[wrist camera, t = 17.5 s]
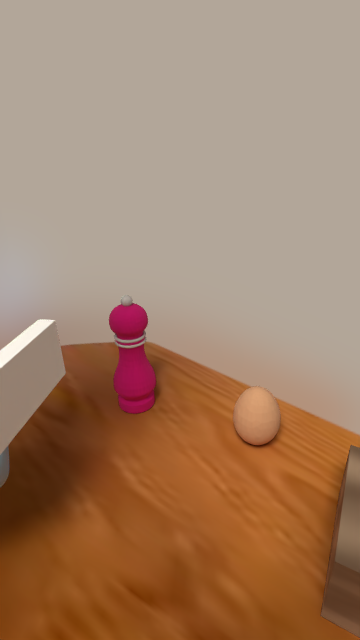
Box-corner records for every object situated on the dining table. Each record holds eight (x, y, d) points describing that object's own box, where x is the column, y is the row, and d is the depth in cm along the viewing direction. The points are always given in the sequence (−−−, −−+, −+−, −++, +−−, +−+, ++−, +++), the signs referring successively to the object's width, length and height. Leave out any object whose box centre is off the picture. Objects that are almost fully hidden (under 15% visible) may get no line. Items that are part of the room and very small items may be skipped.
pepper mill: (162, 392, 61) (155, 288, 53) (149, 418, 55) (140, 305, 46) (125, 387, 63) (113, 286, 54) (109, 412, 56) (93, 302, 48)
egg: (223, 441, 49) (225, 391, 46) (247, 418, 54) (250, 370, 50) (263, 464, 45) (268, 411, 42) (285, 437, 50) (292, 387, 46)
